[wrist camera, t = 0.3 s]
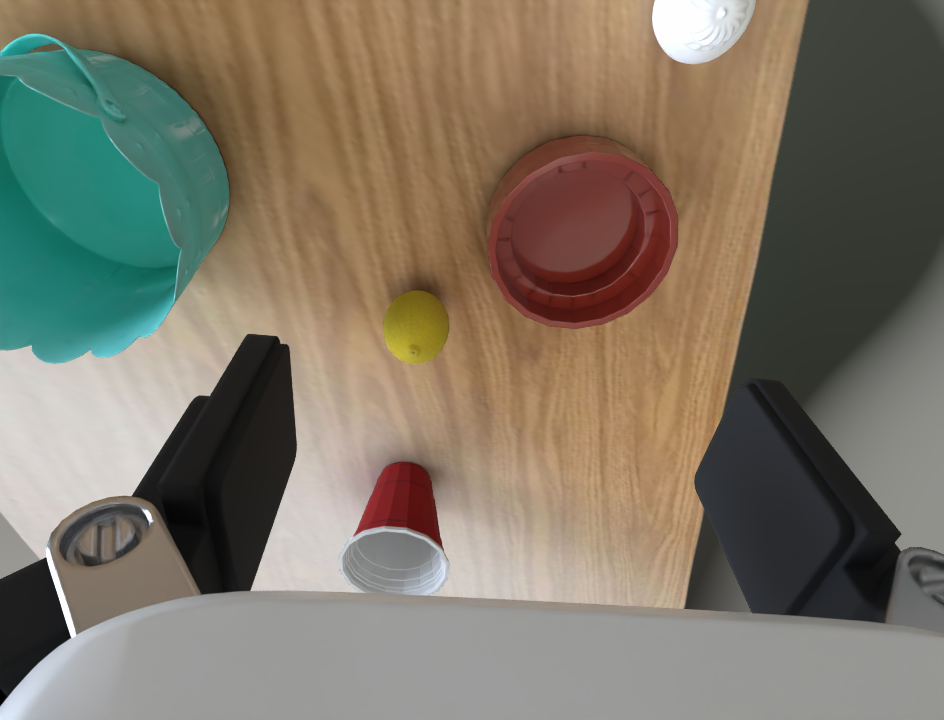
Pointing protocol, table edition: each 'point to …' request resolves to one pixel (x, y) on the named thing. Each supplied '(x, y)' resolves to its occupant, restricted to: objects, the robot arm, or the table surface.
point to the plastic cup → (397, 537)
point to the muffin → (700, 27)
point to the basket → (97, 200)
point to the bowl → (580, 232)
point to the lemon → (416, 327)
